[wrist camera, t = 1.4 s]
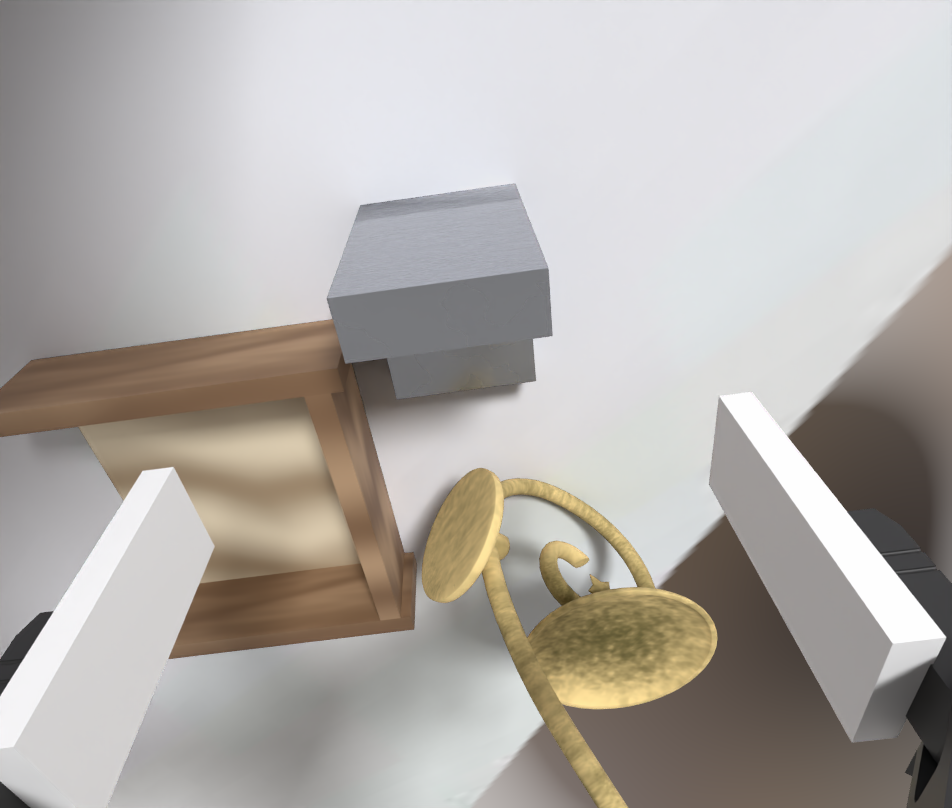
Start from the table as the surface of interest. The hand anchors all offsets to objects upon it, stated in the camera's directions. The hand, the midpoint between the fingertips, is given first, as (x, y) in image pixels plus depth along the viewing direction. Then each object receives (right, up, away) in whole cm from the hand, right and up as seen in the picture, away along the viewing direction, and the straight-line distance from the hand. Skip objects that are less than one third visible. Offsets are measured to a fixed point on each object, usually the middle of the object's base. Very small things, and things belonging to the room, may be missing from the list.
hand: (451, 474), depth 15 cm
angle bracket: (-1, +7, +15) cm, 17 cm away
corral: (-13, -3, +21) cm, 25 cm away
